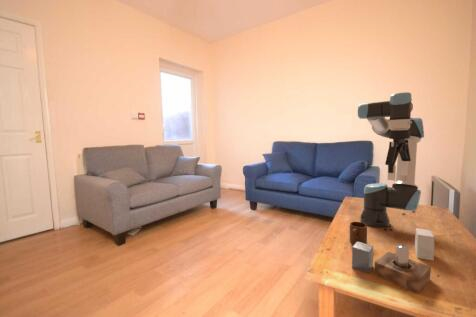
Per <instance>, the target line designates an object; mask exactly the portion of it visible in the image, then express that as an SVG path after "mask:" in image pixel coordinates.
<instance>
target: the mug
mask: <svg viewBox="0 0 476 317" xmlns="http://www.w3.org/2000/svg"><path fill="white" fill-rule="evenodd" d="M349 242H350V243H351V244H352V245H353V246H354V245H355V243H356V242H361V243H364V244H368V225H366V224H364V223H362V222H361V221H352V222H350V223H349Z"/></svg>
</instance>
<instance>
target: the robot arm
mask: <svg viewBox="0 0 476 317" xmlns="http://www.w3.org/2000/svg"><path fill="white" fill-rule="evenodd" d="M413 110H414V104H413V102H412V93H411V92H406V91H405V92H398V93H392V94H391V95H390V97H389V100H386V101H385V100H383V101H376V102H375V101H374V102H365V103H360V104H359V105H358V107H357V117H358V119H360V120H361V119H362V120H363V119H365V120H367V121H368V123H369V124H370V125H371V129H372V132H374V133H375V134H376V135H378V136H380V137H383V138H386V139H389V140H392V141H389V143H388V151H387V154H386V160H385V163H384V164H385V166H387V181H392V182H394V181H395V182H394V183H392V186H390V187H389V186H388V184H387V183H379V182H377V183H368V184H366V185H365V186H364V188H363V209H362V212H361V214H360V217H359V220H360V221H359V222H361V223H364V224H366V225H367V226H369V227H373V228H375V227H376V228H386V227H389V226H390V222H391V220H390V218H389V215H388V211H387V209H388V208H389V209H396V210H403V211H408V212H409V211H410V212H415V211H417V209H418V208H419V204H420V199H421V194H422V191H421V190H420V189H418V188H419V186H418V185H417V184H416V183H415V182H416V167H417V165H416V164H417V153H418V152H417V151H418V150H417V149H418V144H419V143H420V142H421V141H422V140H421V139H423V138H425V130H424V124H423V123H424V122H423V119H422V118H421V117H411V116H412V115H411V114H412V112H413ZM388 118H389V119H388ZM396 162H397V163H396Z"/></svg>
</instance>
